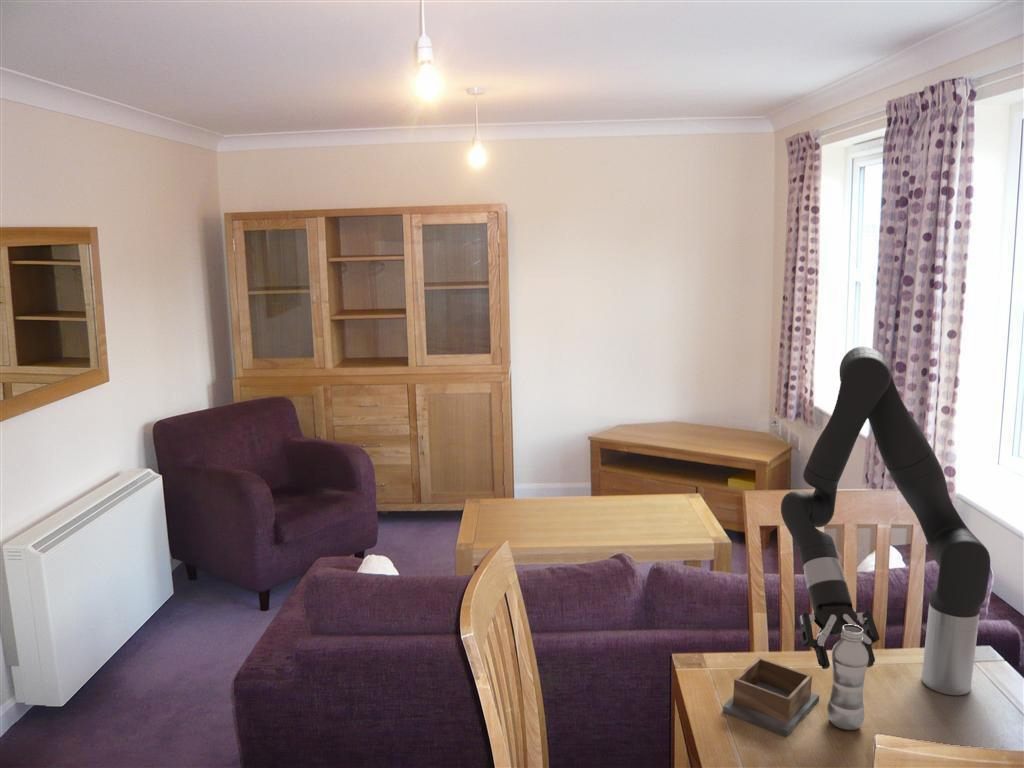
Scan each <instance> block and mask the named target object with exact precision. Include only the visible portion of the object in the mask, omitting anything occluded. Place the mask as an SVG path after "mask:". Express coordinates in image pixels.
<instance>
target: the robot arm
mask: <svg viewBox="0 0 1024 768" xmlns="http://www.w3.org/2000/svg"><path fill="white" fill-rule="evenodd" d="M888 362H889V361H888V360H887V359H886V357H885V356H884V355H883V354H882V353H881V352H880V351H878V350H877V349H874V348H872V347H868V346H857V347H854V348H851V350H849V351H848V352H846V354H845V355H844V356H843V357H842V360H841V362H840V365H839V380H840V385H839V389H838V394H837V398H836V401H835V406H834V407H833V411H832V414H831V416H830V417H829V420H828V422H827V424H826V426H825V428H824V429H823V431H822V432H821V434H820V435H819V437H818V438H817V441H816V443H815V445H814V447H813V449H812V451H811V453H810V455H809V458H808V461H807V463H806V466H805V467H804V470H803V475H802V476H803V477H802V478H803V481H804V482H805V483H806V484H807V485H809V486H811V487H812V488H815V490H814V491H813V493H812V492H803V491H790V492H788V493H786V494H785V495H784V497H783V498H782V501H781V503H780V514H781V517H782V520H783V522H784V524H785V526H786V528H787V530H788V531H789V533H790V535H791V537H792V539H793V541H794V542H795V544H796V546H797V547H798V549H799V550H798V551H799V555H800V558H801V562H802V566H803V573H804V574H803V575H804V579H805V586H806V589H807V592H808V596H809V600H810V604H811V608H812V611H813V614H809V613H808V612H803V613H802V614H801V615H800V616H799V617H798V621H799V627H800V628H799V629H800V632H801V637H802V638H801V639H802V644H803V646H804V647H809V648H812V649H814V651H815V654H816V659H817V663H818V665H819V666H820V667H821V668H822V670H828V669H829V668H830V666H831V665H830V664H831V663H830V659H829V656H828V653H827V648H826V646H825V645H824V644H825V643H826V641H827V638H828V637H830V638H834V637H841V632H842V627H843V625H846V624H852V625H857V626H859V625H858V624H857V621H859V623H860V624H861V625H862V626H863V627H862V628H863V631H864V632H865V633H864V632H863V641H861V642H862V643H863V645H864V646H865V648H866V650H867V652H868V656H869V660H868V665H867V668H871V667H873V666H874V663H876V659H875V658H876V657H875V654H874V651H873V647H872V645H874V644H876V643H877V642H879V640H880V638H881V637H880V634H879V632H878V630H877V629H878V628H877V626H876V623H875V621H874V618H873V615H872V612H871V611H870V610H865V611H864V612H856V611H855V610H854V606H853V603H852V602H853V601H852V599H851V597H852V596H851V594H850V590H849V587H848V584H847V579H846V576H845V572H844V569H843V567H842V565H841V562H840V560H839V556H838V551H837V549H836V545H835V542H834V539H833V537H832V536H831V535H830V534H829V533H827V532H824V531H821V530H819V529H817V528H823V527H825V526H827V525H828V524H829V523H830V522H831V521H832V519H833V518H834V514H835V509H836V508H835V507H836V500H837V493H838V485H839V482H840V479H841V477H842V475H843V473H844V470H845V468H846V465H847V463H848V461H849V458H850V456H851V453H852V452H853V449H854V447H855V444H856V441H857V439H858V436H859V435H860V433H861V431H862V429H863V427H864V425H865V424H866V422H867V420H868V421H869V425H870V427H871V430H872V431H871V432H872V433H873V437H874V440H875V443H876V446H877V448H878V451H879V453H880V456H881V458H882V461H883V464H884V465H885V467H886V469H887V471H888V473H889V475H890V476H891V478H892V480H893V482H894V483H895V486H896V487H897V489H898V491H899V492H900V495H902V497H903V498H904V499H903V500H905V501H906V503H907V504H908V506H909V507H910V509H911V510H912V511H913V513H914V514H915V516H916V518H917V520H918V523H919V525H920V527H921V529H922V532H923V535H924V537H925V540H926V542H927V546H928V548H929V550H930V555H931V556H932V558H933V560H934V562H935V563H936V564H937V565H938V566H939V567H938V569H939V571H938V579H937V585H936V586H935V587H933V588H932V589H931V591H930V594H929V603H928V611H927V621H926V622H927V623H926V633H925V642H924V643H925V644H924V650H923V652H924V653H923V661H922V671H921V681H922V683H923V684H924V685H925V686H926V687H928V688H929V689H930V690H933V691H935V692H938V693H939V694H944V695H948V696H964V695H967V694H969V693H970V692H971V690H972V680H973V673H974V667H975V666H974V664H975V657H976V656H975V655H976V647H977V641H978V640H977V638H978V631H979V621H980V614H981V608H982V605H983V604H984V601H985V600H986V597H987V591H988V584H989V580H990V573H991V571H990V570H991V556H990V552H989V550H988V548H987V547H986V546H985V545H984V544H983V543H982V542H981V541H980V540H979V539H978V537H976V536H975V535H974V533H972V531H971V530H970V529H969V527H968V526H967V525H966V524H965V523H966V522H964V521H963V519H962V517H961V516H960V514H959V512H958V511H957V509H956V507H955V505H954V504H953V502H952V500H951V497H950V493H949V489H948V484H947V481H946V477H945V473H944V471H943V468H942V465H941V463H940V462H939V459H938V458H937V455H936V453H935V451H934V450H933V448H932V446H931V444H930V443H929V442H928V440H927V437H926V436H925V434H924V432H923V431H922V429H921V428H920V425H919V424H918V423H917V422H916V420H915V418H914V417H913V416H912V413H910V411H909V409H908V408H907V406H906V405H905V403H904V401H903V400H902V398H901V396H900V393H899V391H898V388H897V386H896V383H895V380H894V378H893V376H892V372H891V370H890V366H889V363H888ZM813 623H815V624H816V626H818V627H819V628H820V629H819V630H818V633H817V635H816V638H814V635H813V628H812V626H813Z"/></svg>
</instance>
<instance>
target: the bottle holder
mask: <svg viewBox="0 0 1024 768" xmlns="http://www.w3.org/2000/svg"><path fill="white" fill-rule="evenodd" d="M812 680H813V675H811V674H808V673H805V672H804V671H803V672H802V671H800V670H797V669H794V668H790V667H788V666H785V665H783V664H779V663H777V662H774V661H771V660H768V659H766V658H764V657H763V658H762V657H760V656H758V657H757V658H756V659H755V660H754V661H753V662H752V663H751V664H750V665H748V667H746V668H745V669H744V670H743V671H742V672H741V673H740V674H738V675H737V676H736V677H735V678H734V680H733V696H732V697H731V698H730V699H729V700H728V701H727V702H726V703H725V704H724V705H723V706H722V712H724V713H726V714H728V715H731V716H733V717H735V718H738V719H740V720H743V721H745V722H747V723H751V724H754V725H755V726H758V727H760V728H764V729H765V730H768V731H770V732H773V733H776V734H778V735H780V736H783V737H786V738H787V737H788V736H789V735H790V734H791V733H792V732H793V731H794V730H795V728H797V726H798V725H799V724H800V723H799V722H801V721H803V720H804V718H805V717H806V716H807V715H808V714H809V713H810V711H811V710H812V709H813V708H814V707H815V706H816V705H817V704H818V702H819V701H820V694H818V693H815V692H812V684H813V683H812V682H813V681H812ZM798 723H799V724H798ZM791 731H792V732H791Z"/></svg>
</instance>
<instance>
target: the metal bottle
mask: <svg viewBox="0 0 1024 768" xmlns="http://www.w3.org/2000/svg"><path fill="white" fill-rule="evenodd" d="M857 625H858V624H857ZM857 625H852V624H846V625H843V627H842V632H841V636H840V638H841V639H839V640H838V641H837V642H836V643H834V645H833V647H832V650H831V661H832V663H831V664H832V687H831V691H830V692H831V693H830V696H829V697H830V698H829V700H828V703H827V708H826V710H827V717H828V719H829V721H830V723H831V724H832V725H833V726H835V727H837V728H838V729H840V730H846V731H854V730H855V731H856V730H857V729H859V728H860V727H862V726H863V723H864V720H865V717H866V714H865V708H864V707H865V706H864V683H865V676H866V672H867V668H868V667H867V665H868V660H869V656H868V652H867V650H866V648H865V646H864V645H863V643H862V642H861V641H863V633H864V628H863V627H861V626H859V625H858V626H857Z"/></svg>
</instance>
